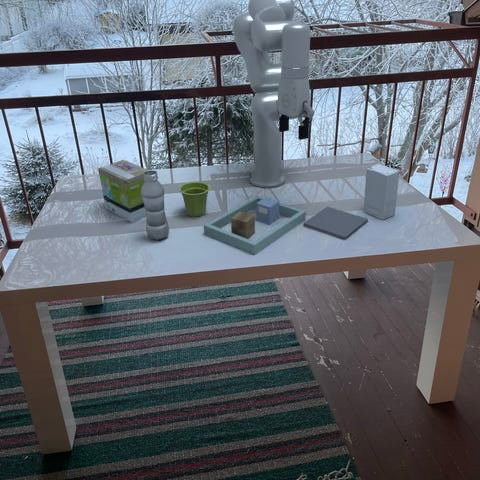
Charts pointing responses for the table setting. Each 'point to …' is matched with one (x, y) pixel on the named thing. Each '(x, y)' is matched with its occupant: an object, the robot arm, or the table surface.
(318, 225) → the mat
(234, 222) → the walnut block
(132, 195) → the tea box
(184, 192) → the plant pot
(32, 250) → the table surface
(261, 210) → the slate box
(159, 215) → the plastic bottle
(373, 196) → the skincare box
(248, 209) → the tray
